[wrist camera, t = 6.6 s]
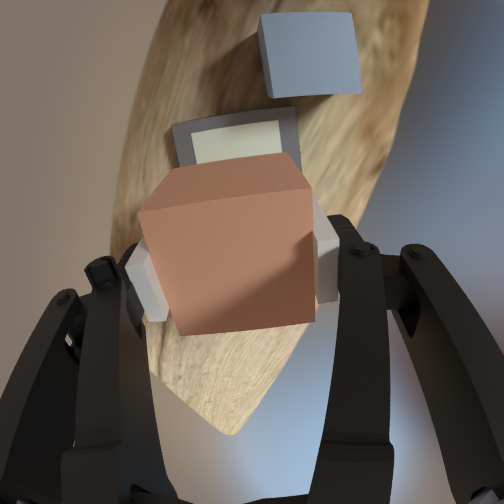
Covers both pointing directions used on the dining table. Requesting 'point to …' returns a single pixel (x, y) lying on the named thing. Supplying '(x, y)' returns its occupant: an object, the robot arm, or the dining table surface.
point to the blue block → (309, 54)
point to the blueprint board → (238, 136)
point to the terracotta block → (233, 244)
